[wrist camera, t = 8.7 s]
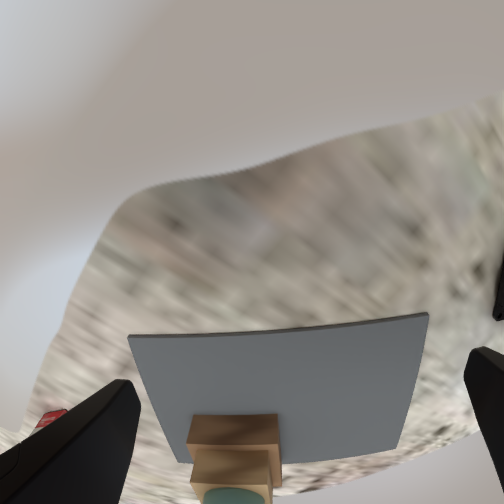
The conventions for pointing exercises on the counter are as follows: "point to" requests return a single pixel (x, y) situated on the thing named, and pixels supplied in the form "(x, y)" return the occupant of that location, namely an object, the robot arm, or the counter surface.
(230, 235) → the counter surface
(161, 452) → the counter surface
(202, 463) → the oak block
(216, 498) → the teal cylinder
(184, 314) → the counter surface
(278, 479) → the walnut base block
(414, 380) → the slate mat
